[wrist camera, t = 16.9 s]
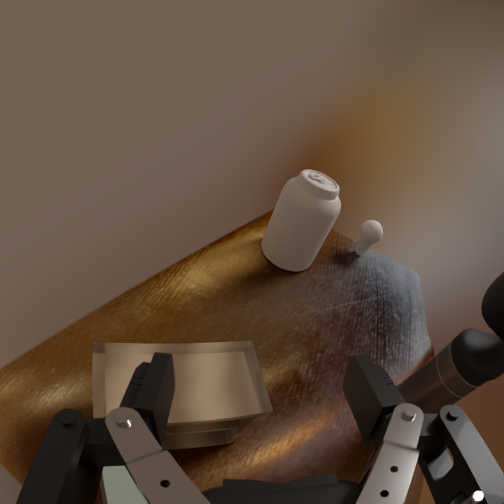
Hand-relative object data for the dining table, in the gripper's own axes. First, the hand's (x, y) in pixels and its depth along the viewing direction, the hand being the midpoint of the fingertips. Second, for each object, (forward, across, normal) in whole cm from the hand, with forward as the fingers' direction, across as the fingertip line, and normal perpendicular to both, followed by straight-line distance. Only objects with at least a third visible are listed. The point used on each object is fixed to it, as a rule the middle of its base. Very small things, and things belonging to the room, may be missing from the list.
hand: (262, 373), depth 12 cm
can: (+55, -10, +11) cm, 57 cm away
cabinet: (+11, +9, +25) cm, 29 cm away
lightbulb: (+63, -32, +12) cm, 71 cm away
